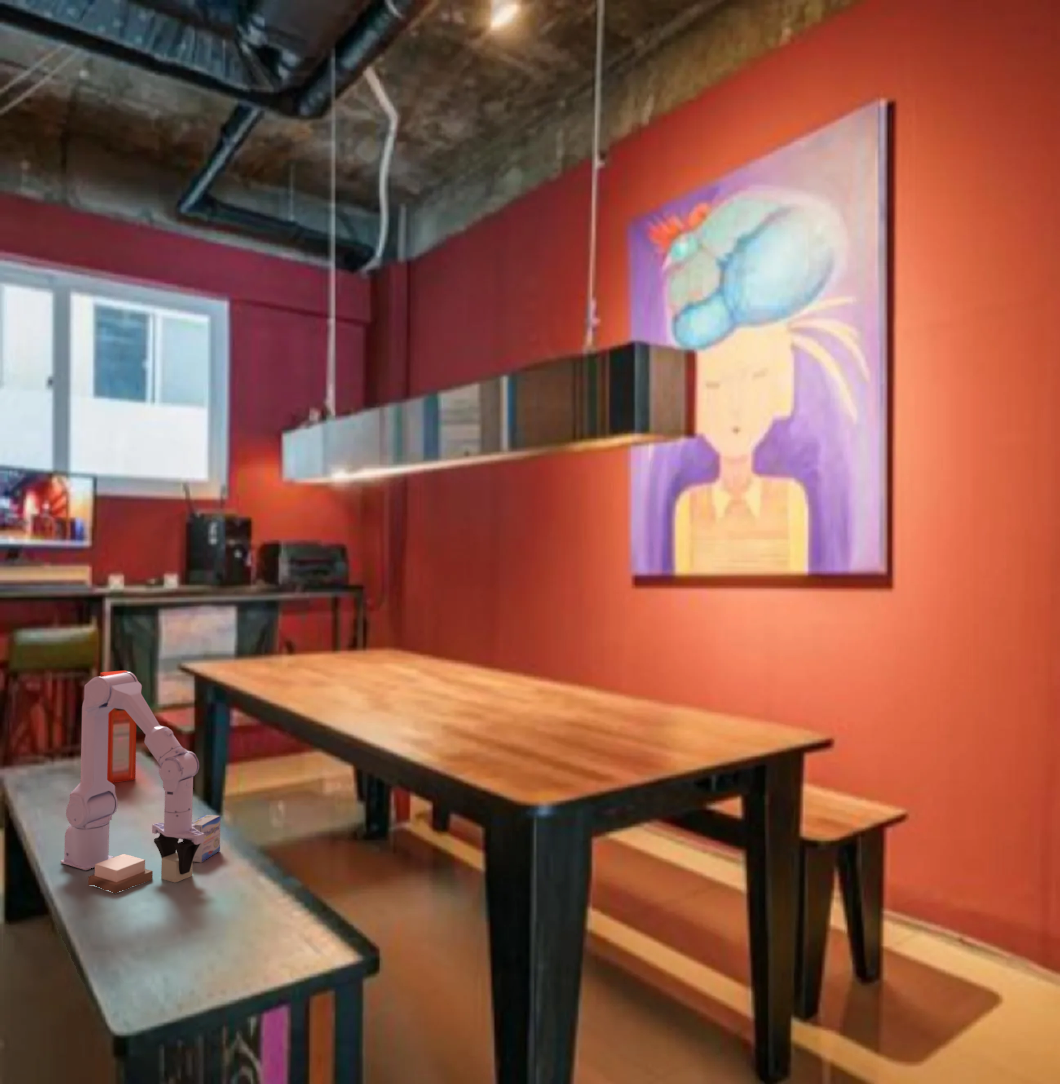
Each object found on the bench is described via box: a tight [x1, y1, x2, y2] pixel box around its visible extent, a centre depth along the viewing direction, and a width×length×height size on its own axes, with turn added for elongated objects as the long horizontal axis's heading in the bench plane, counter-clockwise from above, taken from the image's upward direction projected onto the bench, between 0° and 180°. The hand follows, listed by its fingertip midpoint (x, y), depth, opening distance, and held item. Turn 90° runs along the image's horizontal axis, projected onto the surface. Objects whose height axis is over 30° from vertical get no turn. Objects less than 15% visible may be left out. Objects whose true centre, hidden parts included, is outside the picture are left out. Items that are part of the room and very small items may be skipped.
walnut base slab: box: [87, 868, 154, 894], centre depth 182 cm, size 9×9×2 cm
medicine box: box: [192, 814, 222, 863], centre depth 198 cm, size 8×4×9 cm, turn 168°
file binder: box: [99, 670, 137, 784], centre depth 266 cm, size 8×17×32 cm, turn 36°
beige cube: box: [160, 852, 194, 883], centre depth 185 cm, size 4×4×4 cm
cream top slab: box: [94, 853, 146, 882], centre depth 182 cm, size 7×7×2 cm
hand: (176, 870), depth 185 cm, fingers closed on beige cube, 4 cm apart
